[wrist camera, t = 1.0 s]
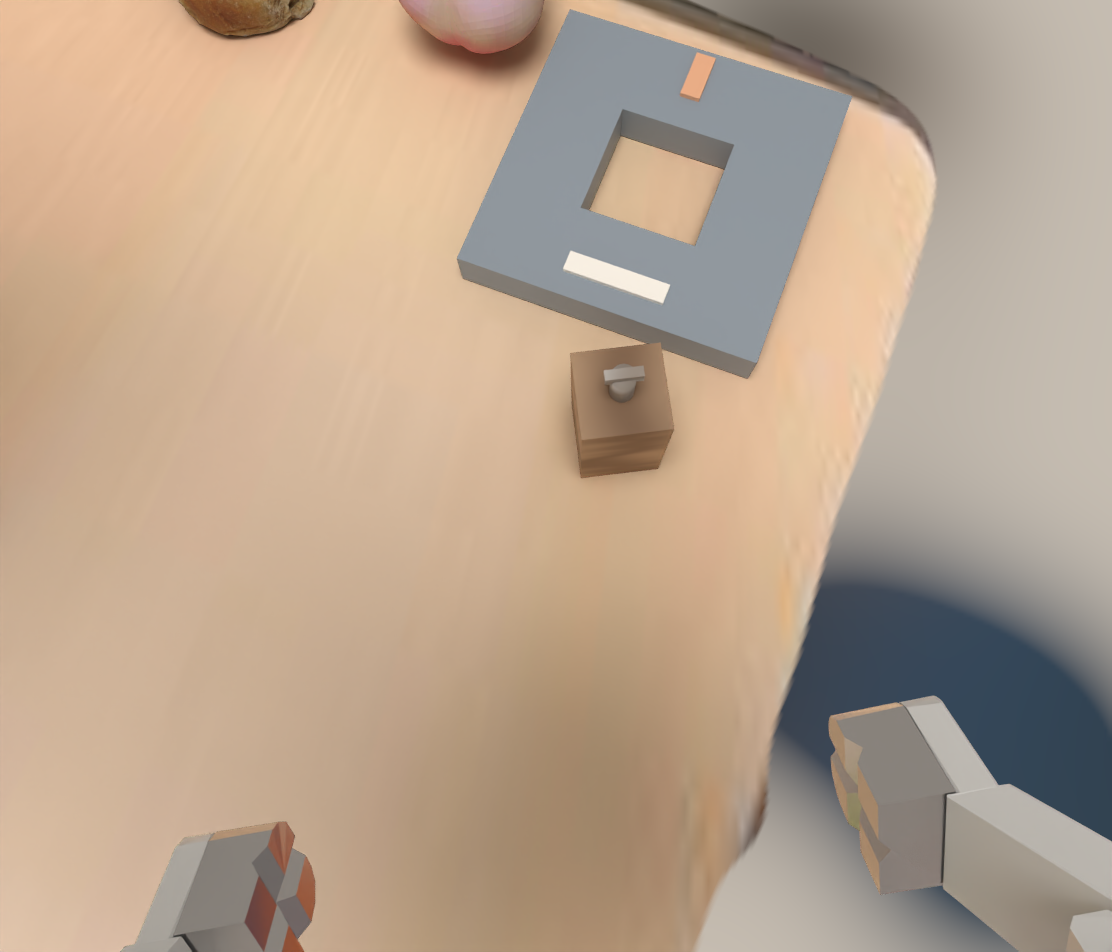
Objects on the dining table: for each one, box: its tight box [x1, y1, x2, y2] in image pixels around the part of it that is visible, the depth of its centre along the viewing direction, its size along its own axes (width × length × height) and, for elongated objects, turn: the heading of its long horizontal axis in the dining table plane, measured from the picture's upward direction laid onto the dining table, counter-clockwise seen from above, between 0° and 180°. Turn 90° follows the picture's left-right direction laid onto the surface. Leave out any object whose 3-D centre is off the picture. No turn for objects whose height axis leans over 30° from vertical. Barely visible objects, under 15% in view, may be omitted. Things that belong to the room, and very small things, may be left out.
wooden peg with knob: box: [570, 343, 674, 478], centre depth 41 cm, size 4×4×10 cm
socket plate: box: [457, 9, 852, 379], centre depth 48 cm, size 18×18×3 cm
